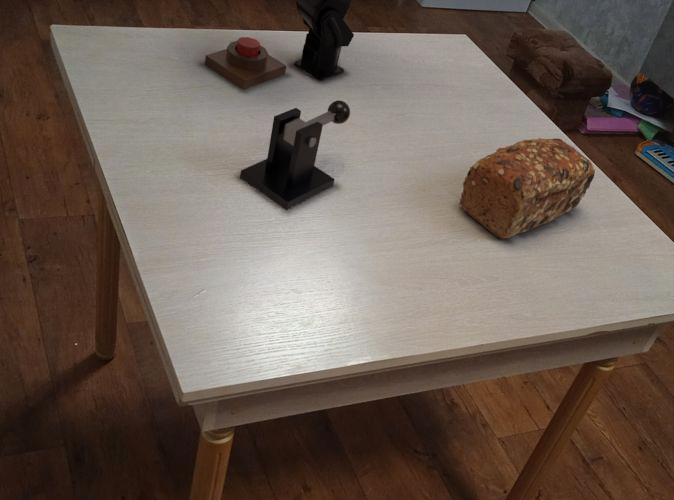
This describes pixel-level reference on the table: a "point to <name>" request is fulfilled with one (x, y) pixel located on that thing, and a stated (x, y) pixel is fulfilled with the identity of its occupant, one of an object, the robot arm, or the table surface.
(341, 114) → the lever
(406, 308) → the table surface
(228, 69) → the button block
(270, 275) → the table surface
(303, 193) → the bracket
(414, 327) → the table surface
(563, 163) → the bread
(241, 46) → the button
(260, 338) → the table surface
